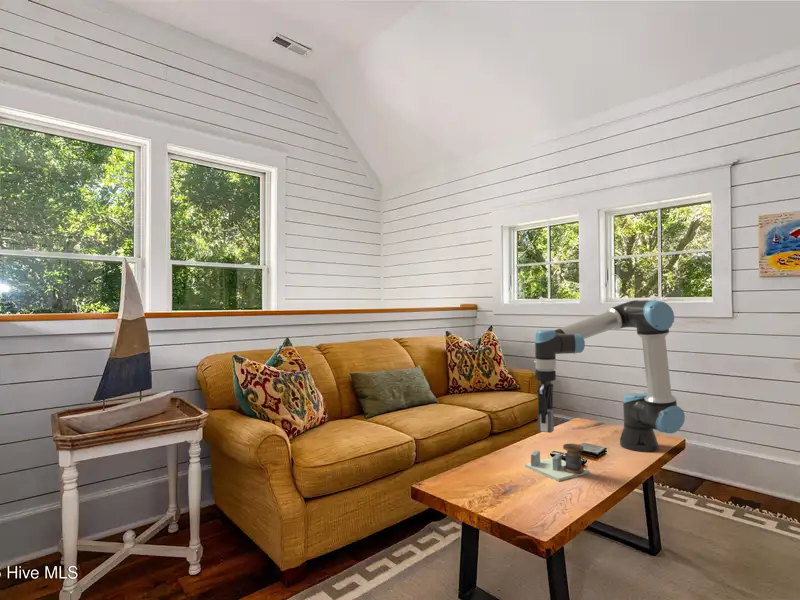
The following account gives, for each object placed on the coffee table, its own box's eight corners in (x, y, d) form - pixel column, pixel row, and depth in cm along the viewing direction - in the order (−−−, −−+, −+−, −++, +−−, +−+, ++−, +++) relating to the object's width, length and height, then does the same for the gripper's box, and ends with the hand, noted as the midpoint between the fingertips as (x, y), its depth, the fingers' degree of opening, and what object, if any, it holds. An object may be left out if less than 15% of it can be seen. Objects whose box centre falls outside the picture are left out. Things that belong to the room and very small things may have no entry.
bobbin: (572, 465, 185) (572, 442, 185) (588, 471, 179) (587, 447, 179) (559, 469, 182) (559, 445, 182) (574, 475, 176) (574, 450, 176)
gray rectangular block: (540, 428, 188) (540, 408, 188) (553, 430, 186) (553, 409, 186) (537, 431, 185) (537, 410, 185) (551, 432, 182) (550, 411, 182)
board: (554, 459, 196) (554, 456, 196) (589, 472, 180) (589, 470, 180) (524, 466, 188) (524, 463, 188) (558, 481, 173) (558, 478, 173)
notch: (535, 461, 191) (535, 450, 191) (561, 465, 185) (561, 454, 185) (531, 466, 186) (530, 454, 186) (557, 470, 180) (557, 459, 180)
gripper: (541, 366, 194) (542, 423, 195) (529, 372, 180) (529, 433, 180) (560, 367, 190) (561, 425, 191) (549, 373, 176) (549, 436, 176)
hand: (545, 429), depth 185 cm, fingers closed on gray rectangular block, 4 cm apart
